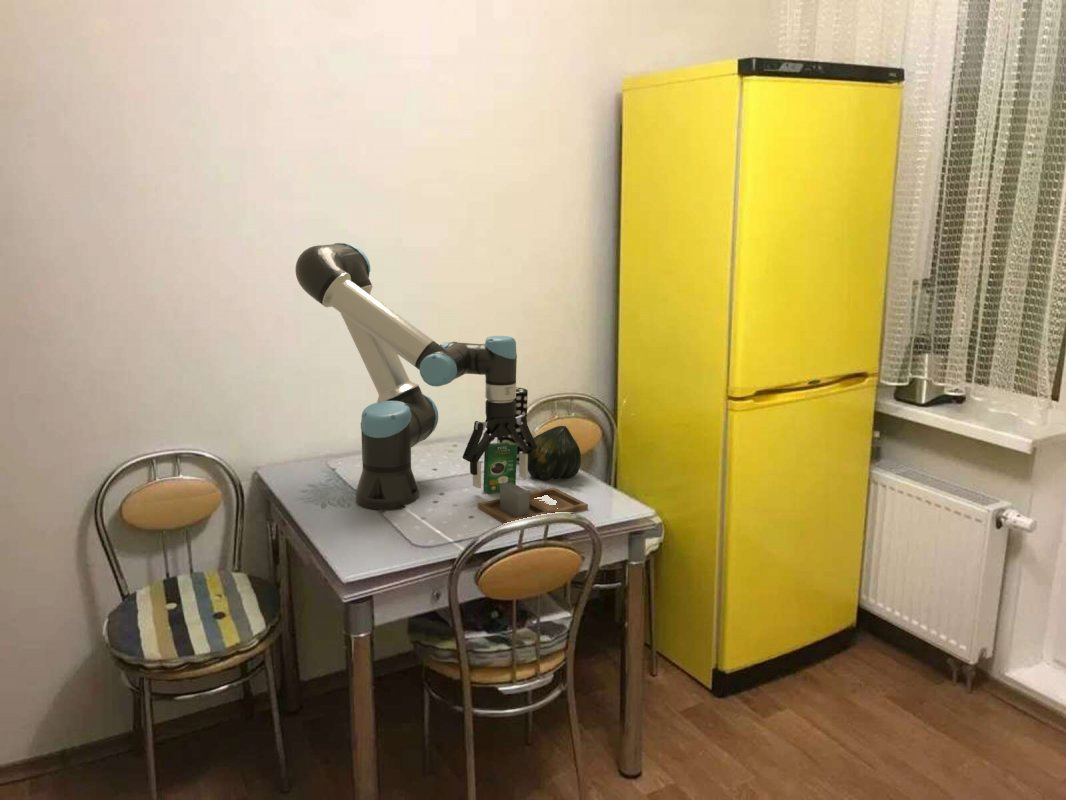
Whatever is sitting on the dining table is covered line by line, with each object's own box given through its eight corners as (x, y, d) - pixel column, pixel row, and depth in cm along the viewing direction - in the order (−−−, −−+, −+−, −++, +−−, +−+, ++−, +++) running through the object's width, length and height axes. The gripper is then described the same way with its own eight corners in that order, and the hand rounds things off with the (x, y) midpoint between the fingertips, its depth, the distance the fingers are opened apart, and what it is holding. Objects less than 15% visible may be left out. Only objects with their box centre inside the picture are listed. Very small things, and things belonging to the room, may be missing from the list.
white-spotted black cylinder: (492, 456, 246) (493, 388, 241) (519, 453, 250) (520, 386, 245) (504, 464, 239) (504, 394, 234) (531, 461, 242) (532, 392, 238)
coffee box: (512, 489, 219) (513, 440, 216) (516, 493, 216) (517, 443, 213) (482, 493, 215) (483, 443, 212) (486, 497, 213) (487, 446, 210)
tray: (509, 530, 192) (509, 521, 192) (477, 511, 203) (477, 503, 203) (587, 512, 204) (587, 504, 203) (553, 495, 215) (554, 487, 215)
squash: (506, 455, 229) (537, 421, 220) (543, 446, 240) (573, 413, 231) (535, 499, 224) (567, 465, 215) (570, 487, 235) (602, 455, 227)
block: (518, 519, 197) (518, 494, 195) (499, 508, 203) (500, 484, 202) (529, 516, 198) (529, 492, 197) (510, 506, 205) (511, 482, 203)
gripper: (463, 408, 200) (464, 495, 205) (551, 396, 214) (549, 477, 219) (448, 402, 206) (449, 486, 211) (534, 391, 220) (533, 470, 225)
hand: (500, 482), depth 215 cm, fingers open, 13 cm apart
